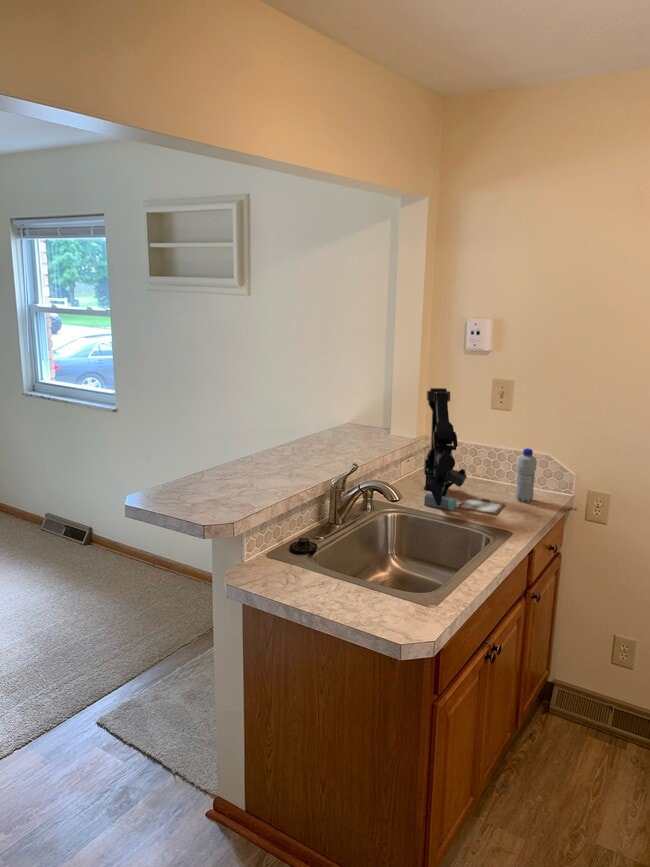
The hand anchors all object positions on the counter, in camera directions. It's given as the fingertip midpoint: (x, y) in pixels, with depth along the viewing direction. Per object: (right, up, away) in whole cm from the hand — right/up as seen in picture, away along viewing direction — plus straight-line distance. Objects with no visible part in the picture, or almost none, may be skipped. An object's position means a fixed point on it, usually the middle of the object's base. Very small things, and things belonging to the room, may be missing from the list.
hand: (440, 503), depth 242 cm
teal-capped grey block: (0, -1, 0) cm, 1 cm away
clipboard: (+15, -1, +1) cm, 15 cm away
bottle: (+33, 0, +8) cm, 34 cm away
